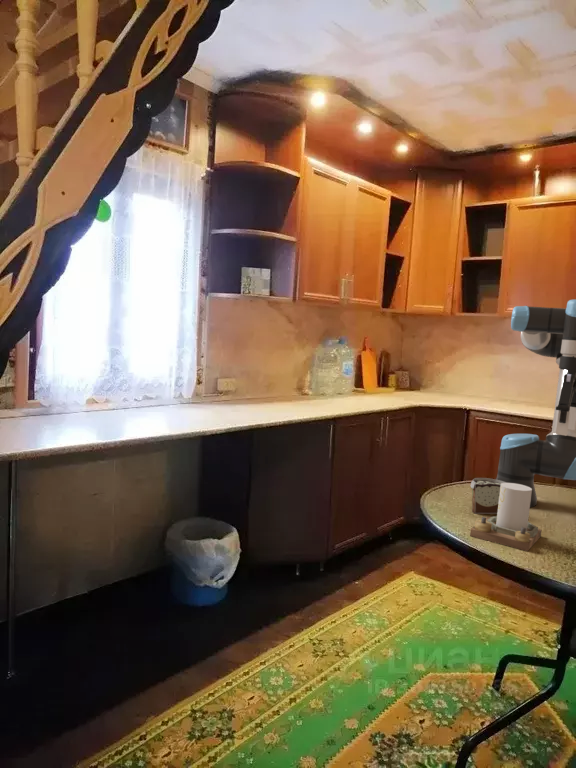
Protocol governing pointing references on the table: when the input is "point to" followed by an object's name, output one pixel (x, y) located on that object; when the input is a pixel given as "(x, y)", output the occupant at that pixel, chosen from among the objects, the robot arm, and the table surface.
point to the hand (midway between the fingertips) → (565, 432)
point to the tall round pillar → (513, 506)
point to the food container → (485, 495)
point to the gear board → (505, 533)
